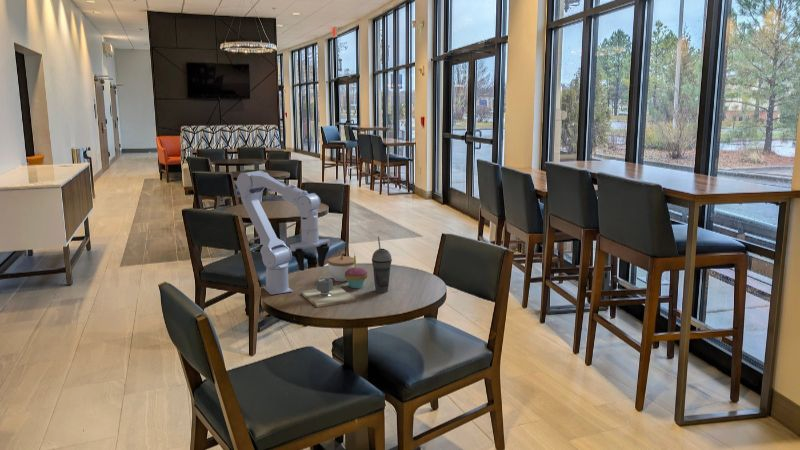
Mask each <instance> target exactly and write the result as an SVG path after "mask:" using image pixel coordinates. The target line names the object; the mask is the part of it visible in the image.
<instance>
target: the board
mask: <svg viewBox="0 0 800 450" xmlns="http://www.w3.org/2000/svg"><path fill="white" fill-rule="evenodd" d="M300 293H301V296H303V297H304V298H305V299H307V301H309V303H311V304H313V306H315V308H323V307H329V306H330V305H331V306H335V305H341V304H342V303H343V304H347V303H355V302H357V298H356V297H354V296H353V295H351V294H350V293H349V292H347V290H345V289H343V288H342V287H340V286H339V285H335V286H333V290H331V291H329V293H331V296H328V297H320V296H319V294H320V293H321V292H320V291H318V290H317V288H315V289H309V290H302V291H301V292H300Z"/></svg>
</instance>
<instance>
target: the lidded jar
mask: <svg viewBox="0 0 800 450" xmlns="http://www.w3.org/2000/svg"><path fill="white" fill-rule="evenodd" d="M327 265H328V266H327V267H328V272H329V274H330V276H331V278H333V280H334V281H336V282H348V281H347V279H346V278H345V272H346V271H347V270H348V269H350V268H354V256H345V255H343V254H342V255H340V256H334V257H330V258H329V259H327Z"/></svg>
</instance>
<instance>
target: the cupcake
mask: <svg viewBox="0 0 800 450" xmlns="http://www.w3.org/2000/svg"><path fill="white" fill-rule="evenodd" d="M353 254H354V256H353V258H354V268H350V269H348V270H347V271H346V272H345V278H346V279H347V281H346V282H347V283H348V286H349V288H350V289H360V288H361V289H362V287H363V285H364V282H365V280H366V279H368V271H366V270H365V268H362V267H358V266H357V256H356V255H355V253H353Z"/></svg>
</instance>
